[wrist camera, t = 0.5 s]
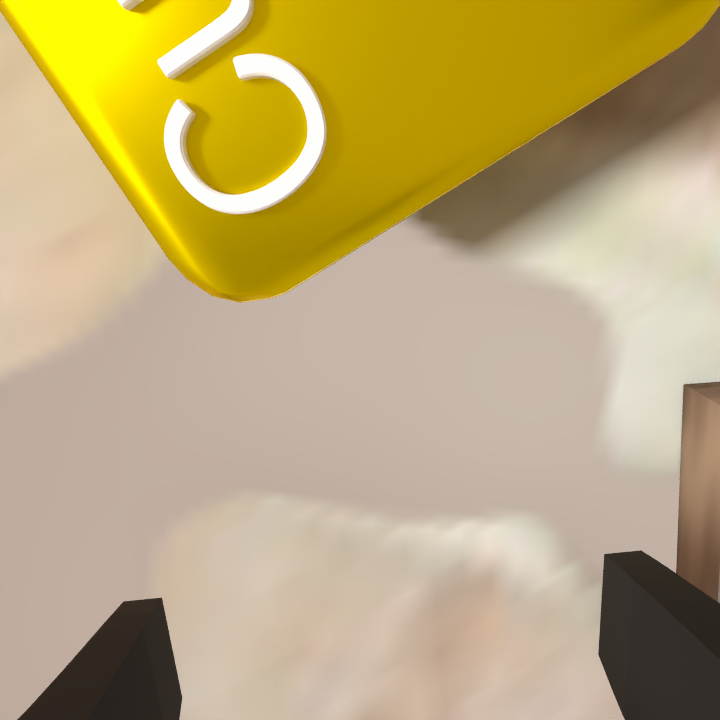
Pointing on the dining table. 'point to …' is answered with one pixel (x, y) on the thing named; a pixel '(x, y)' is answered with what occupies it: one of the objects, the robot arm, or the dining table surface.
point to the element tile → (322, 109)
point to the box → (700, 488)
